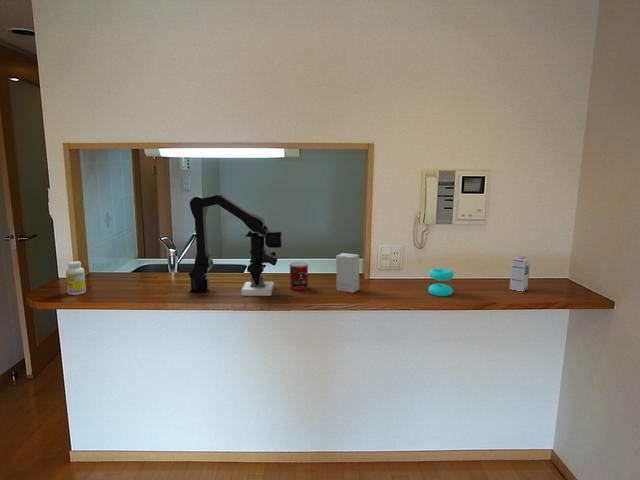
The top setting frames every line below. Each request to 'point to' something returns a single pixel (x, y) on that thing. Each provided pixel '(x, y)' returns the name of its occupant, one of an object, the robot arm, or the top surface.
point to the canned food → (298, 276)
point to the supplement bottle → (75, 278)
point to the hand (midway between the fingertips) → (257, 283)
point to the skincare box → (347, 272)
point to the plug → (261, 281)
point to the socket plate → (257, 289)
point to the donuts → (441, 288)
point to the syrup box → (519, 273)
